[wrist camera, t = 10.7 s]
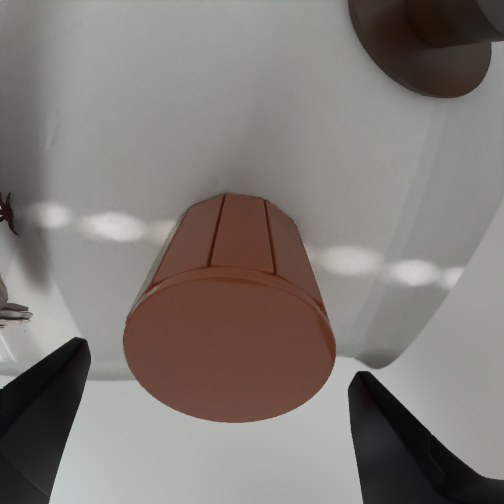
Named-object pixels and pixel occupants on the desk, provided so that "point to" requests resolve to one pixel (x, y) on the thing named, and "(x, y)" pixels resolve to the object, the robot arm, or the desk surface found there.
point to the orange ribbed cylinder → (231, 316)
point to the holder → (430, 41)
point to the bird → (3, 311)
